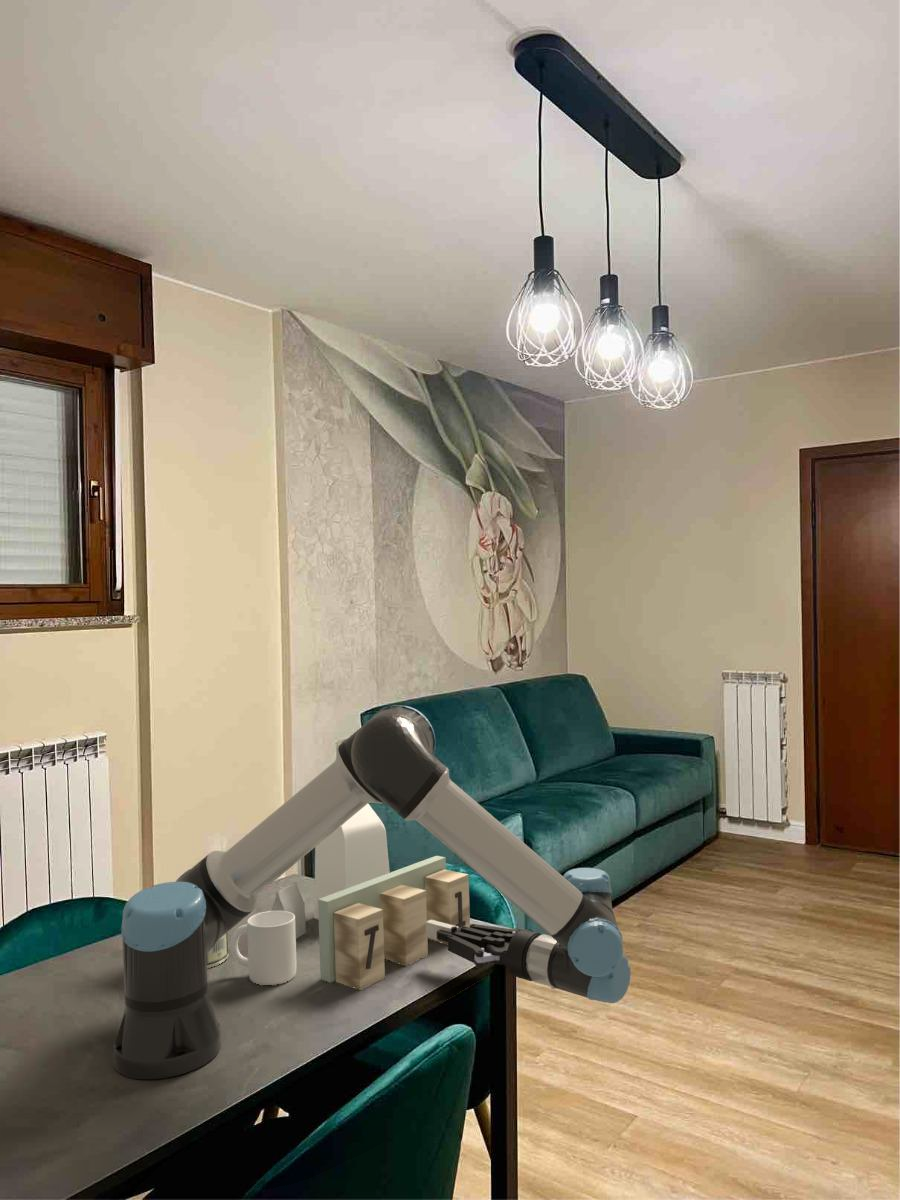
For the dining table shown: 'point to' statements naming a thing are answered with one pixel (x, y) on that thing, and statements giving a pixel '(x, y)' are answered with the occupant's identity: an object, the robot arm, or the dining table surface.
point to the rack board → (366, 903)
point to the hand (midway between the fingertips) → (428, 928)
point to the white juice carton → (292, 906)
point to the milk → (351, 855)
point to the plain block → (404, 924)
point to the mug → (268, 947)
